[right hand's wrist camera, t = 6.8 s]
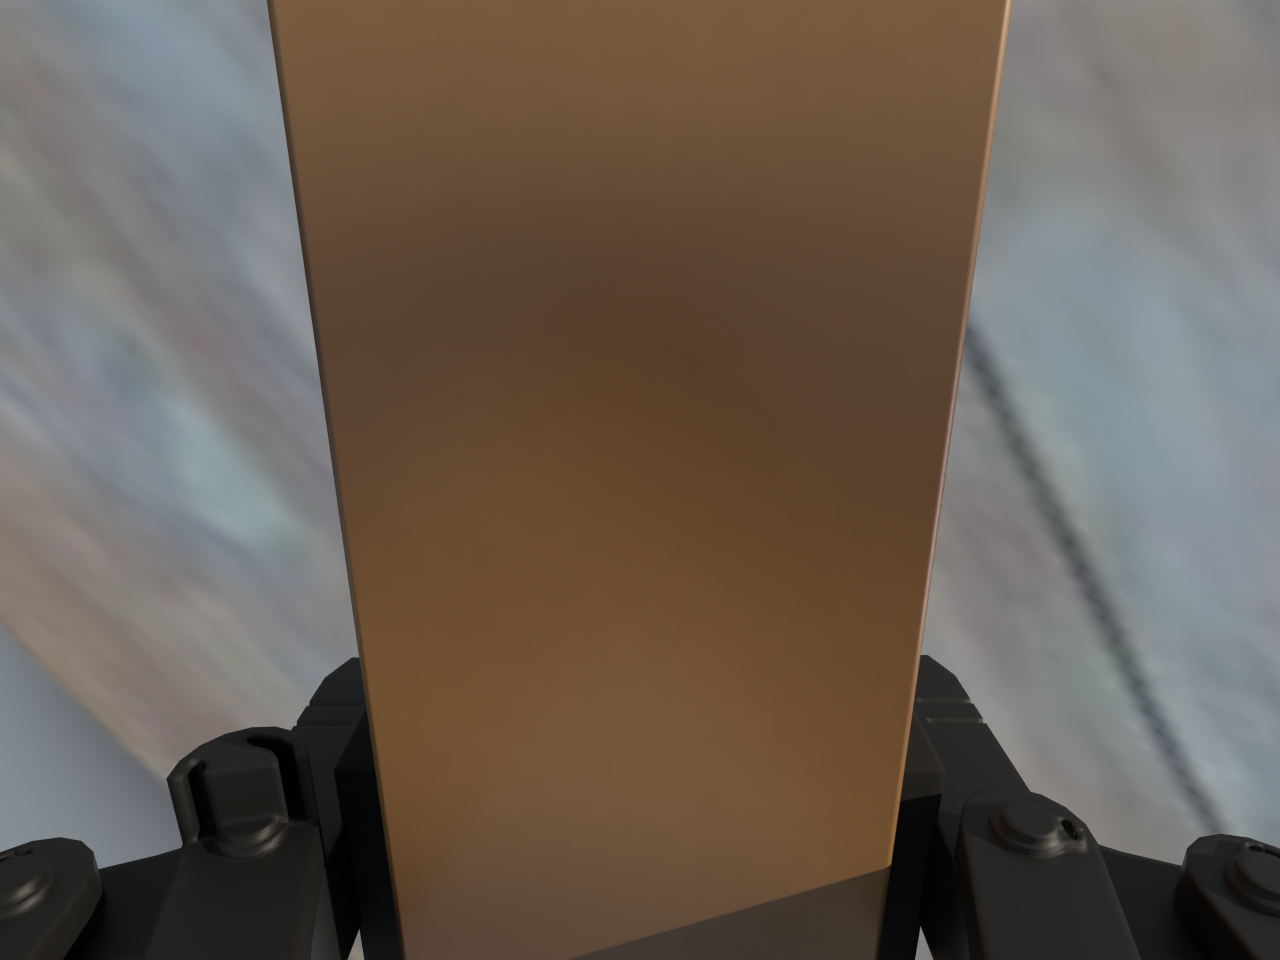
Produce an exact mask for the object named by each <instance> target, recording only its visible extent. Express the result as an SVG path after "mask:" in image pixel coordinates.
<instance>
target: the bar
mask: <svg viewBox="0 0 1280 960" xmlns="http://www.w3.org/2000/svg"><path fill="white" fill-rule="evenodd" d="M267 5H268V12H269V19H270V26H271V33H272V40H273V48H274V55H275V62H276V69H277V76H278V83H279V90H280V97H281V104H282V111H283V119H284V126H285V133H286V140H287V147H288V154H289V161H290V168H291V175H292V183H293V190H294V197H295V204H296V211H297V218H298V225H299V232H300V239H301V247H302V254H303V261H304V268H305V275H306V282H307V289H308V296H309V303H310V310H311V318H312V325H313V332H314V339H315V346H316V353H317V360H318V367H319V374H320V382H321V389H322V396H323V403H324V410H325V417H326V424H327V431H328V438H329V445H330V453H331V460H332V467H333V474H334V481H335V488H336V495H337V502H338V509H339V517H340V524H341V531H342V538H343V545H344V552H345V559H346V566H347V573H348V581H349V588H350V595H351V602H352V609H353V616H354V623H355V630H356V637H357V644H358V652H359V659H360V666H361V673H362V680H363V687H364V694H365V701H366V708H367V716H368V723H369V730H370V737H371V744H372V751H373V758H374V765H375V772H376V780H377V787H378V794H379V801H380V808H381V815H382V822H383V829H384V836H385V843H386V851H387V858H388V865H389V872H390V879H391V886H392V893H393V900H394V907H395V915H396V922H397V929H398V936H399V943H400V950H401V957H402V960H878V954H879V946H880V939H881V932H882V925H883V918H884V911H885V904H886V897H887V890H888V882H889V875H890V868H891V861H892V854H893V847H894V840H895V833H896V825H897V818H898V811H899V804H900V797H901V790H902V783H903V776H904V768H905V761H906V754H907V747H908V740H909V733H910V726H911V719H912V712H913V704H914V697H915V690H916V683H917V676H918V669H919V662H920V655H921V647H922V640H923V633H924V626H925V619H926V612H927V605H928V598H929V590H930V583H931V576H932V569H933V562H934V555H935V548H936V541H937V533H938V526H939V519H940V512H941V505H942V498H943V491H944V484H945V477H946V469H947V462H948V455H949V448H950V441H951V434H952V427H953V420H954V412H955V405H956V398H957V391H958V384H959V377H960V370H961V363H962V355H963V348H964V341H965V334H966V327H967V320H968V313H969V306H970V299H971V291H972V284H973V277H974V270H975V263H976V256H977V249H978V242H979V234H980V227H981V220H982V213H983V206H984V199H985V192H986V185H987V177H988V170H989V163H990V156H991V149H992V142H993V135H994V128H995V120H996V113H997V106H998V99H999V92H1000V85H1001V78H1002V71H1003V64H1004V56H1005V49H1006V42H1007V35H1008V28H1009V21H1010V14H1011V7H1012V0H267Z"/></svg>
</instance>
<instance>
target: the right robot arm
mask: <svg viewBox="0 0 1280 960" xmlns="http://www.w3.org/2000/svg"><path fill="white" fill-rule="evenodd" d="M167 783H168V787H169V791H170V794H171V798H172V802H173V806H174V810H175V814H176V818H177V822H178V826H179V830H180V834H181V838H182V842H183V845H182V847H181V848H179V849H176V850H173V851H170V852H166V853H163V854H160V855H156V856H152V857H148V858H144V859H140V860H135V861H131V862H127V863H123V864H118V865H114V866H110V867H106V868H102V869H98V866H97V863H96V860H95V856H94V853H93V851H92V850H91V849H89V848H88V847H87V846H86V845H85V844H84V843H83V842H82V841H79V840H73V839H67V838H61V837H59V838H51V839H45V840H37V841H31V842H28V843H26V844H23V845H20V846H17V847H14V848H11V849H8V850H6V851H3V852H0V960H348V957H349V954H350V952H351V949H352V946H353V944H354V941H355V938H356V936H357V933H358V931H359V929H360V935H361V941H362V947H363V954H364V960H402V957H401V950H400V943H399V936H398V929H397V922H396V915H395V907H394V900H393V893H392V886H391V879H390V872H389V865H388V858H387V851H386V843H385V836H384V829H383V822H382V815H381V808H380V801H379V794H378V787H377V780H376V772H375V765H374V758H373V751H372V744H371V737H370V730H369V723H368V716H367V708H366V701H365V694H364V687H363V680H362V673H361V666H360V659H359V658H351V659H349V660H348V661H347V662H345V663H344V664H343V665H341V666H340V667H339V668H337V669H336V670H335V671H333V672H332V673H331V674H329V675H328V676H327V677H325V678H324V680H323V681H322V683H321V685H320V686H319V688H318V689H317V691H316V692H315V694H314V695H313V697H312V699H311V700H310V705H309V706H306V708H305V709H304V711H303V713H302V714H301V716H300V717H299V719H298V720H297V726H294V727H293V728H292V730H291V731H290V730H287V729H283V728H279V727H251V728H247V729H243V730H239V731H235V732H231V733H227V734H224V735H222V736H220V737H218V738H215V739H213V740H211V741H209V742H207V743H205V744H202V745H200V746H199V747H198V748H196V749H195V750H194V751H192V752H191V753H190V754H188V755H187V756H186V757H184V758H183V759H182V760H180V761H179V762H178V764H177V765H176V766H175V768H174V769H173V770H172V772H171V773H170V775H169V776H168V777H167ZM920 926H921V928H922V931H923V933H924V936H925V939H926V941H927V944H928V947H929V949H930V952H931V954H932V957H933V960H1280V849H1279V848H1276V847H1274V846H1271V845H1268V844H1265V843H1262V842H1259V841H1256V840H1253V839H1251V838H1247V837H1240V836H1232V835H1225V834H1217V835H1211V836H1205V837H1199V838H1198V839H1197V840H1196V841H1195V842H1194V843H1193V844H1191V845H1190V846H1189V847H1188V848H1187V851H1186V854H1185V857H1184V861H1183V864H1182V866H1180V865H1175V864H1171V863H1167V862H1163V861H1159V860H1154V859H1150V858H1146V857H1142V856H1137V855H1133V854H1129V853H1125V852H1121V851H1118V850H1114V849H1111V848H1108V847H1105V846H1101V845H1099V844H1098V843H1097V842H1096V840H1095V838H1094V837H1093V835H1092V834H1091V832H1090V831H1089V829H1088V827H1087V826H1086V824H1085V823H1084V822H1082V821H1081V820H1080V819H1079V818H1078V817H1076V816H1075V815H1074V814H1073V813H1072V812H1071V811H1069V810H1068V809H1067V808H1066V807H1064V806H1062V805H1060V804H1058V803H1056V802H1054V801H1052V800H1051V799H1049V798H1047V797H1045V796H1043V795H1040V794H1037V793H1033V792H1030V790H1029V789H1028V787H1027V786H1026V784H1025V783H1024V781H1023V780H1022V778H1021V777H1020V775H1019V773H1018V772H1017V770H1016V769H1015V767H1014V766H1013V764H1012V763H1011V761H1010V760H1009V758H1008V756H1007V755H1006V753H1005V752H1004V750H1003V749H1002V747H1001V746H1000V744H999V743H998V741H997V739H996V738H995V736H994V735H993V733H992V732H991V730H990V729H989V727H988V726H987V724H986V723H983V718H982V716H981V715H980V713H979V712H978V710H977V709H976V707H975V705H974V704H971V703H970V698H969V696H968V695H967V693H966V692H965V690H964V688H963V687H962V685H961V684H960V682H959V681H958V679H957V678H956V676H955V675H954V674H953V673H951V672H950V671H948V670H947V669H946V668H944V667H943V666H942V665H940V664H939V663H938V662H936V661H935V660H934V659H932V658H931V657H930V656H928V655H920V662H919V669H918V676H917V683H916V690H915V697H914V704H913V712H912V719H911V726H910V733H909V740H908V747H907V754H906V761H905V768H904V776H903V783H902V790H901V797H900V804H899V811H898V818H897V825H896V833H895V840H894V847H893V854H892V861H891V868H890V875H889V882H888V890H887V897H886V904H885V911H884V918H883V925H882V932H881V939H880V946H879V954H878V960H915V956H916V950H917V944H918V938H919V932H920Z"/></svg>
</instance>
